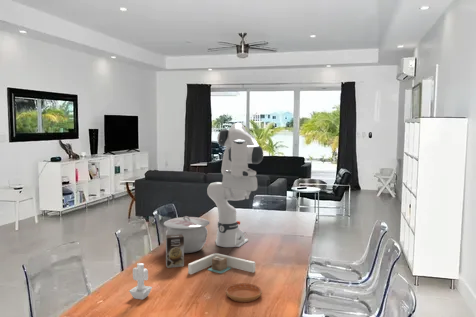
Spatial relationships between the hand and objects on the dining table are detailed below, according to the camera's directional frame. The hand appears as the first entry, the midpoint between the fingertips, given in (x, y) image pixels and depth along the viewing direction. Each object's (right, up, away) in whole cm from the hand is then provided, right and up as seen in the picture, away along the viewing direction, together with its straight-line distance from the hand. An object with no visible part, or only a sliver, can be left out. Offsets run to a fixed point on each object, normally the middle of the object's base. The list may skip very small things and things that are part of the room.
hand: (239, 197), depth 216 cm
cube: (-10, -37, +1) cm, 38 cm away
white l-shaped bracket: (-8, -38, -4) cm, 39 cm away
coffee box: (-34, -37, +7) cm, 51 cm away
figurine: (-43, -40, -33) cm, 68 cm away
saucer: (+2, -41, -32) cm, 52 cm away
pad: (-10, -37, +1) cm, 39 cm away
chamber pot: (-31, -34, +34) cm, 57 cm away
